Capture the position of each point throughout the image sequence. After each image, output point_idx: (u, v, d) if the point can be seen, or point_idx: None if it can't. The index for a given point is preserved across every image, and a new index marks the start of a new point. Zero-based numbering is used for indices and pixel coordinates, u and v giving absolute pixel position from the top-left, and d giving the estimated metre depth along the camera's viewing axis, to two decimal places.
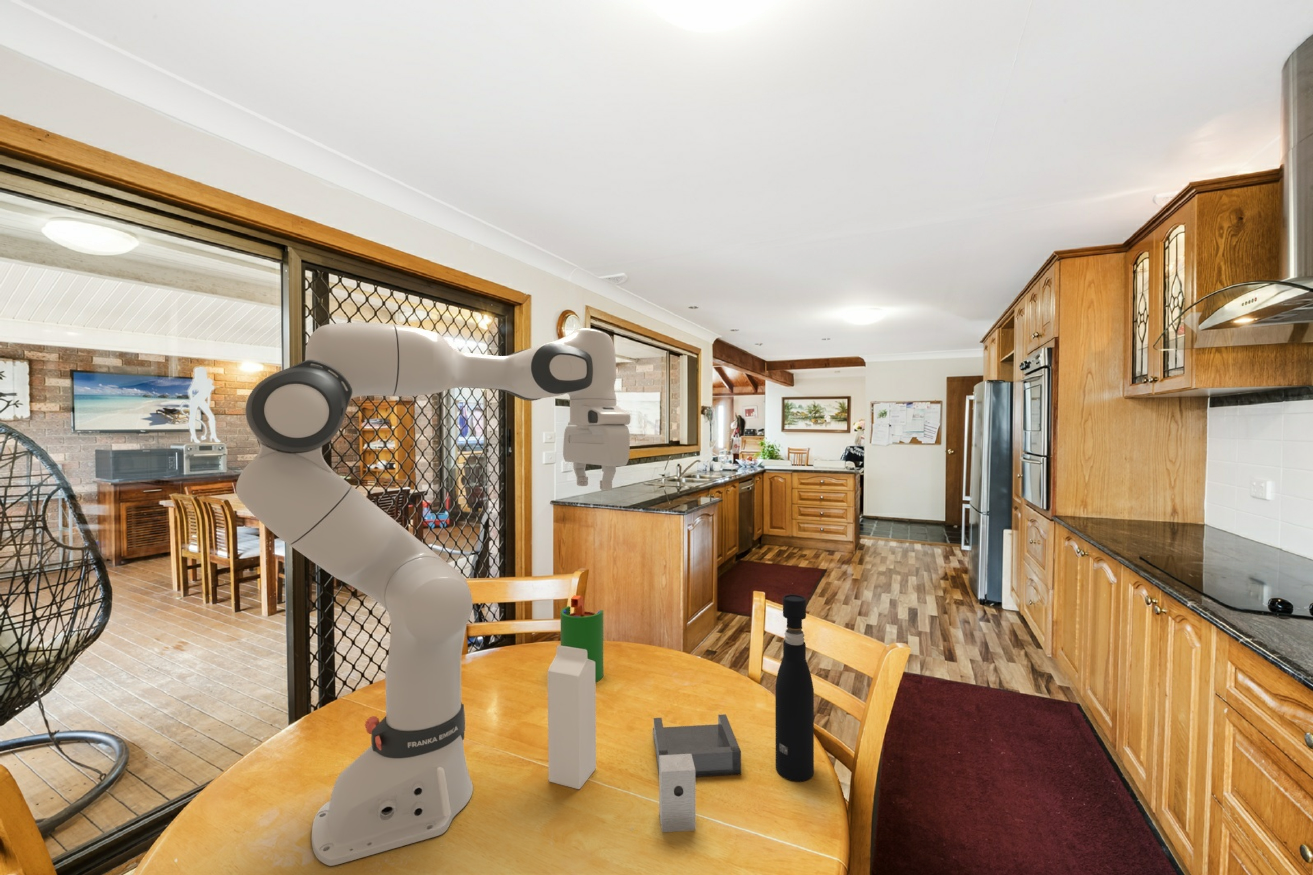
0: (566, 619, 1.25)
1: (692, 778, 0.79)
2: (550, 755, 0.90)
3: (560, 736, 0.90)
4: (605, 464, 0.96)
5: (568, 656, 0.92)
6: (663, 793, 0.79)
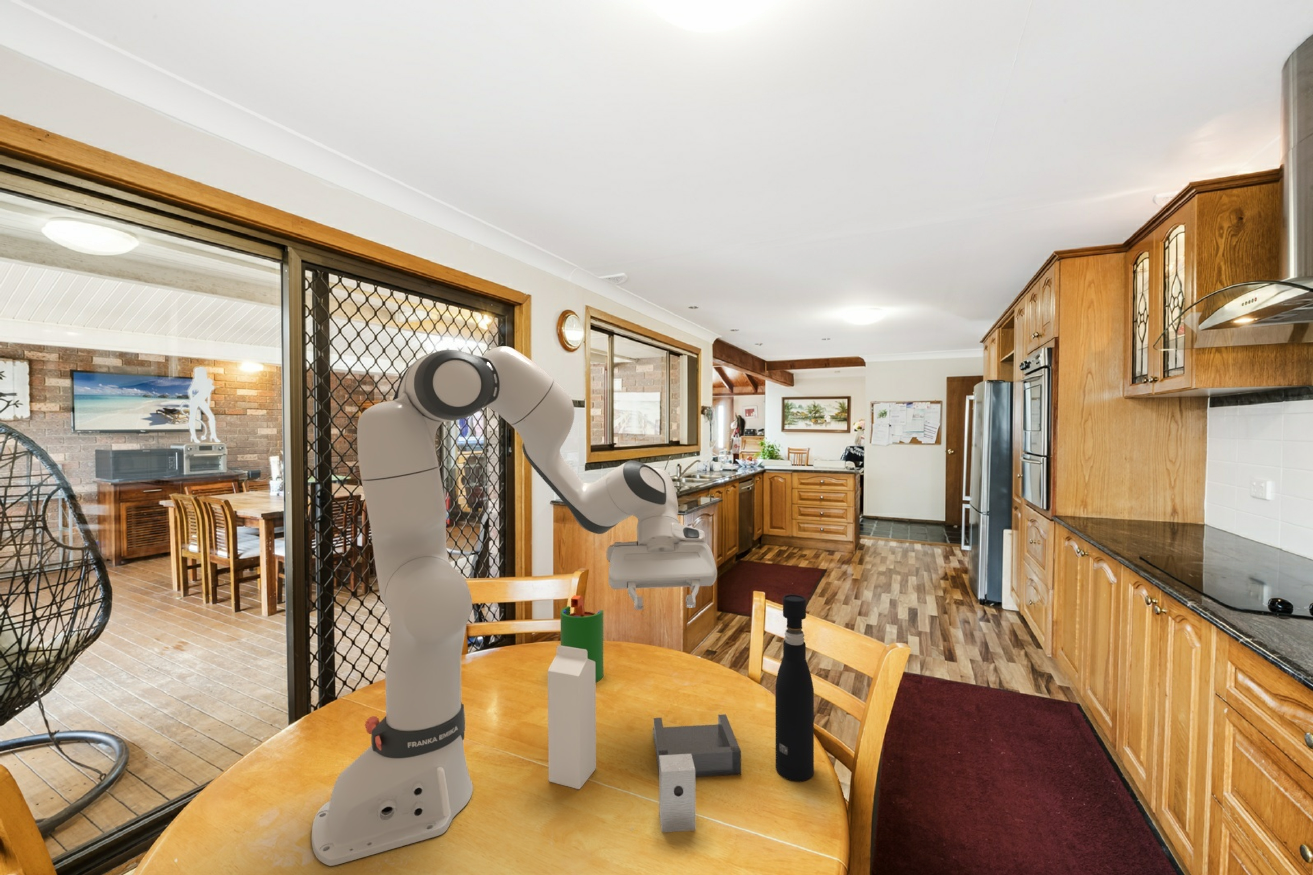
0: (566, 619, 1.25)
1: (692, 778, 0.79)
2: (550, 755, 0.90)
3: (560, 736, 0.90)
4: (705, 575, 0.99)
5: (568, 656, 0.92)
6: (663, 793, 0.79)
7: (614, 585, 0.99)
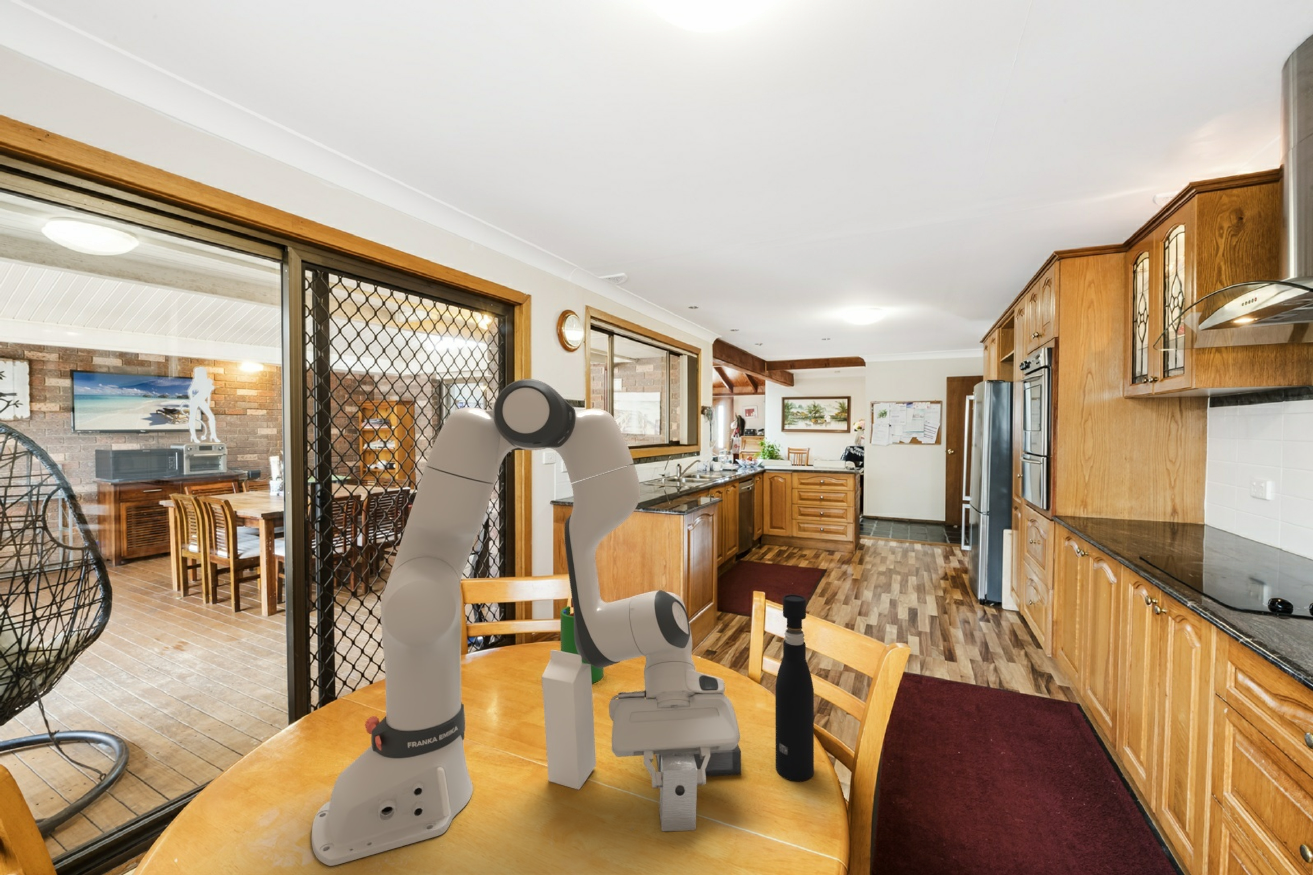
0: (566, 619, 1.25)
1: (694, 777, 0.79)
2: (549, 757, 0.90)
3: (557, 739, 0.89)
4: (726, 742, 0.84)
5: (562, 661, 0.90)
6: (664, 792, 0.79)
7: (618, 754, 0.83)
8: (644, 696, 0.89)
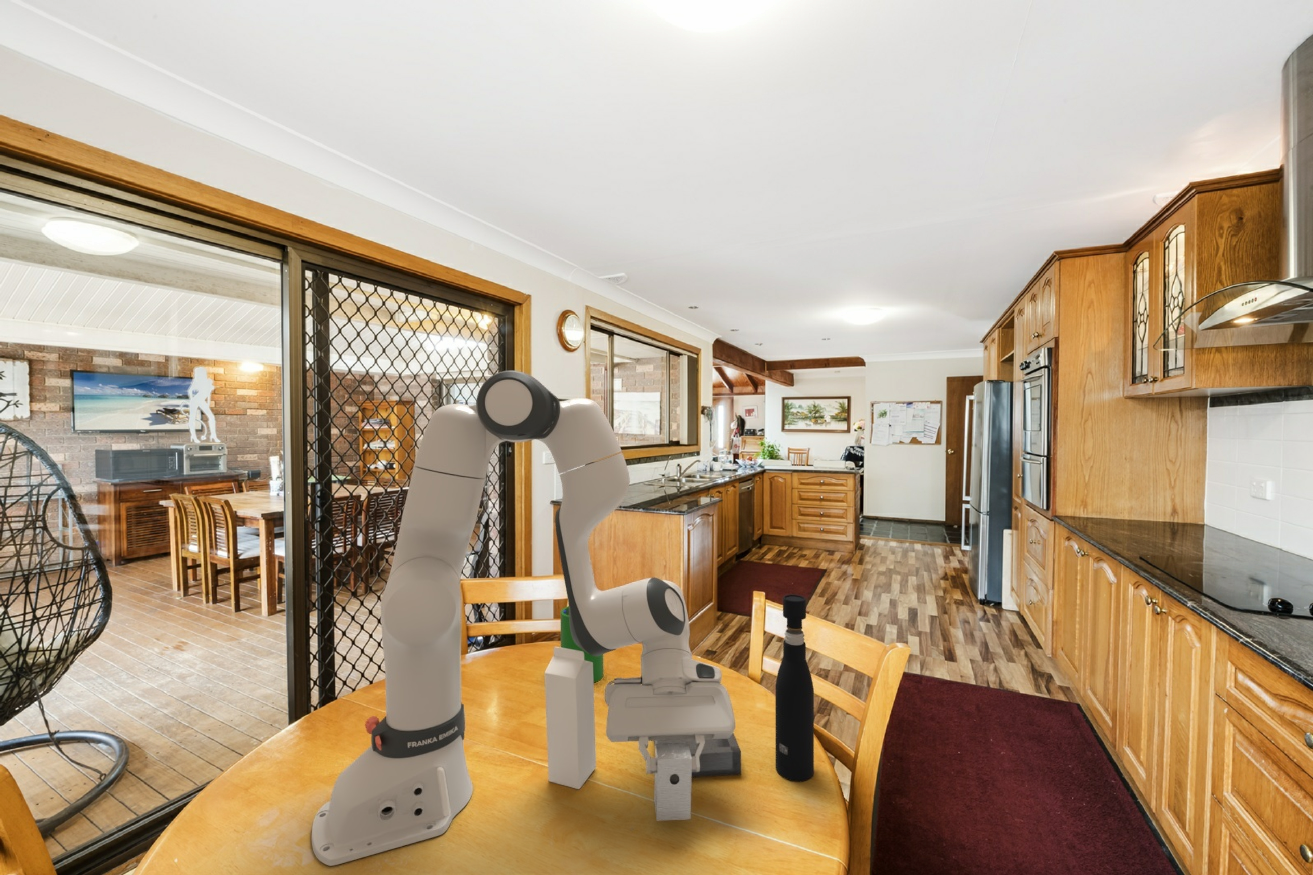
0: (566, 619, 1.25)
1: (689, 766, 0.79)
2: (549, 756, 0.90)
3: (558, 737, 0.89)
4: (721, 730, 0.83)
5: (565, 657, 0.91)
6: (659, 781, 0.79)
7: (613, 739, 0.83)
8: (640, 682, 0.89)
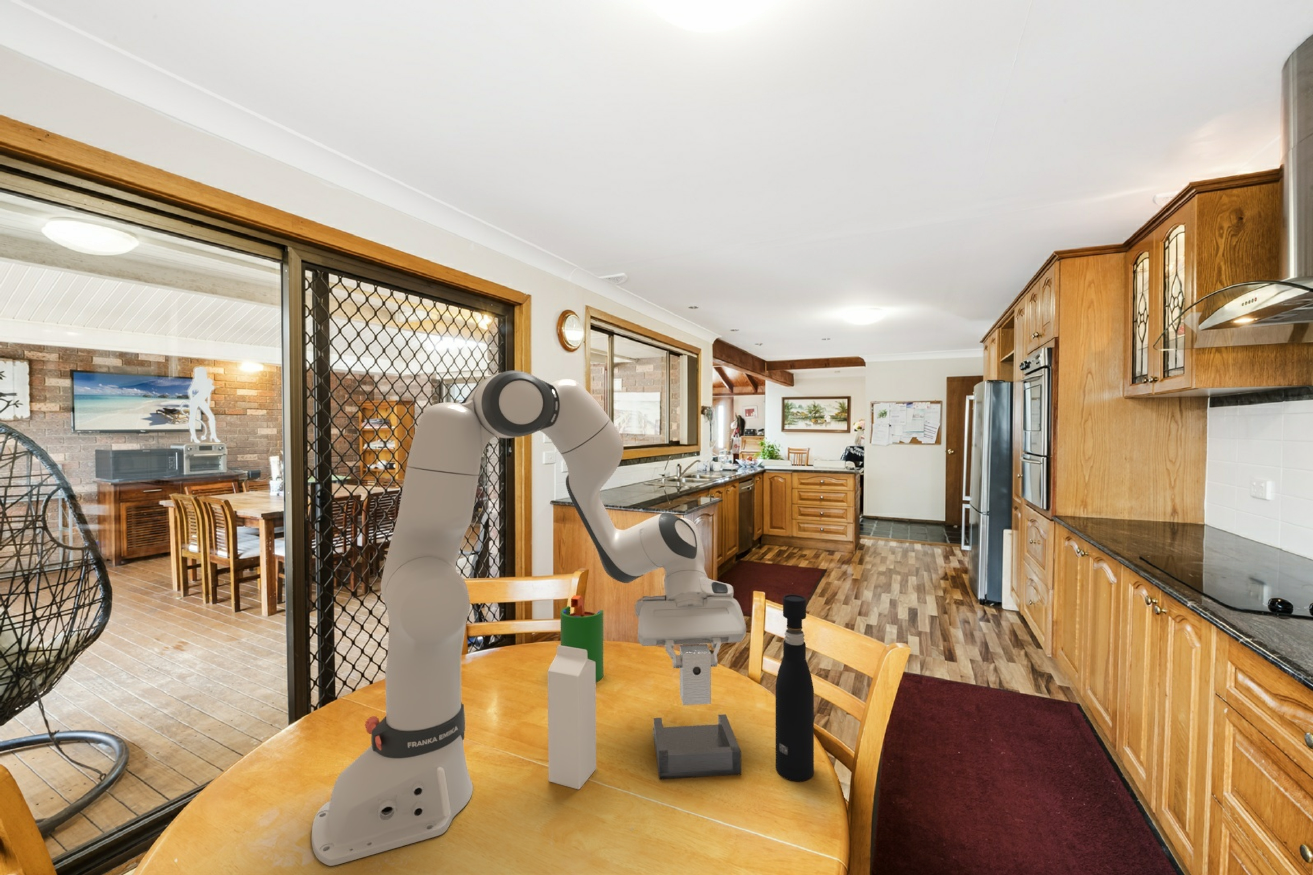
0: (566, 619, 1.25)
1: (708, 660, 0.95)
2: (550, 755, 0.90)
3: (560, 736, 0.90)
4: (734, 633, 0.99)
5: (568, 656, 0.92)
6: (684, 672, 0.94)
7: (644, 642, 0.99)
8: (664, 599, 1.04)
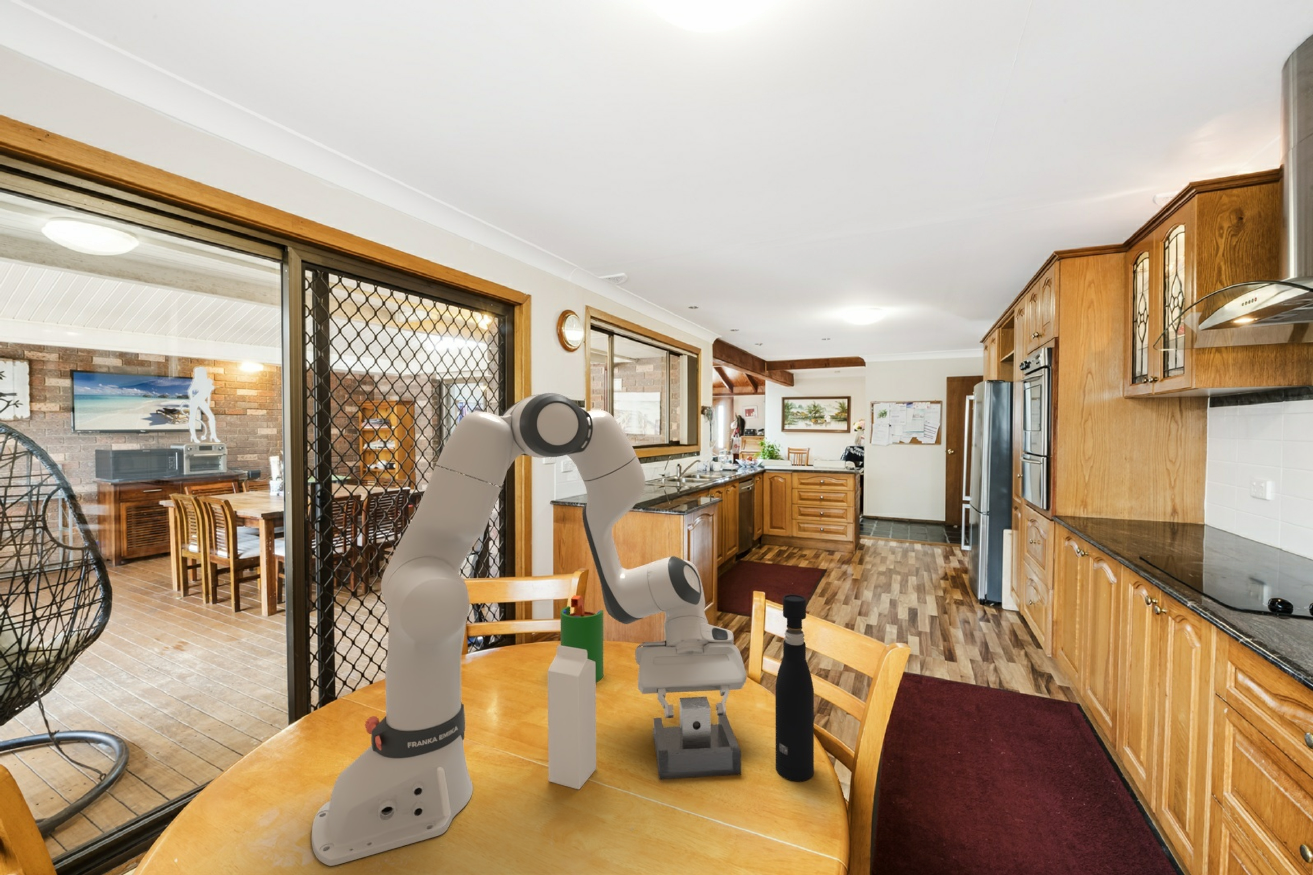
0: (566, 619, 1.25)
1: (708, 714, 0.95)
2: (550, 755, 0.90)
3: (560, 736, 0.90)
4: (734, 681, 0.99)
5: (568, 656, 0.92)
6: (684, 727, 0.95)
7: (644, 691, 0.99)
8: (665, 645, 1.05)
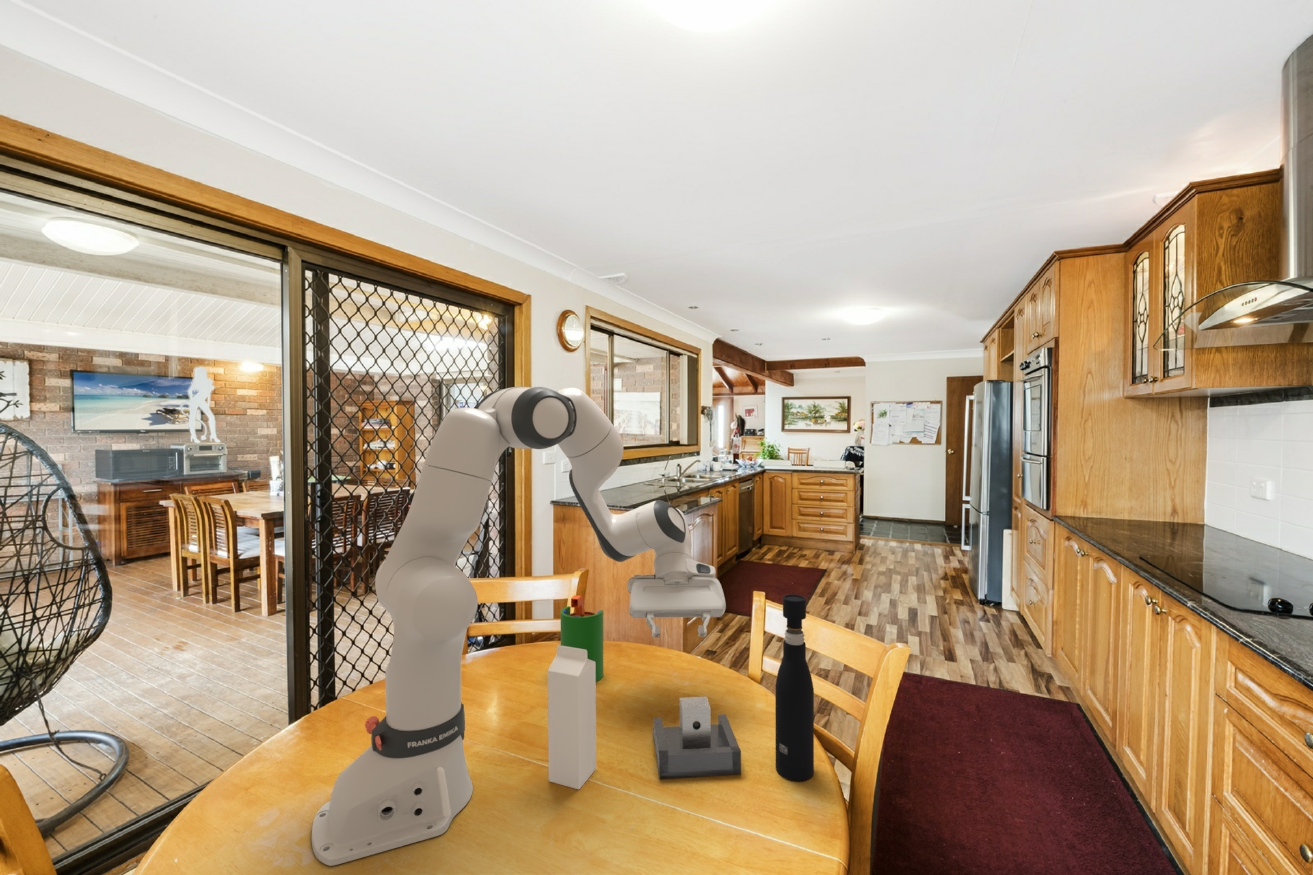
0: (566, 619, 1.25)
1: (708, 714, 0.95)
2: (550, 755, 0.90)
3: (560, 736, 0.90)
4: (715, 608, 1.11)
5: (568, 656, 0.92)
6: (684, 727, 0.95)
7: (634, 615, 1.11)
8: (654, 578, 1.17)
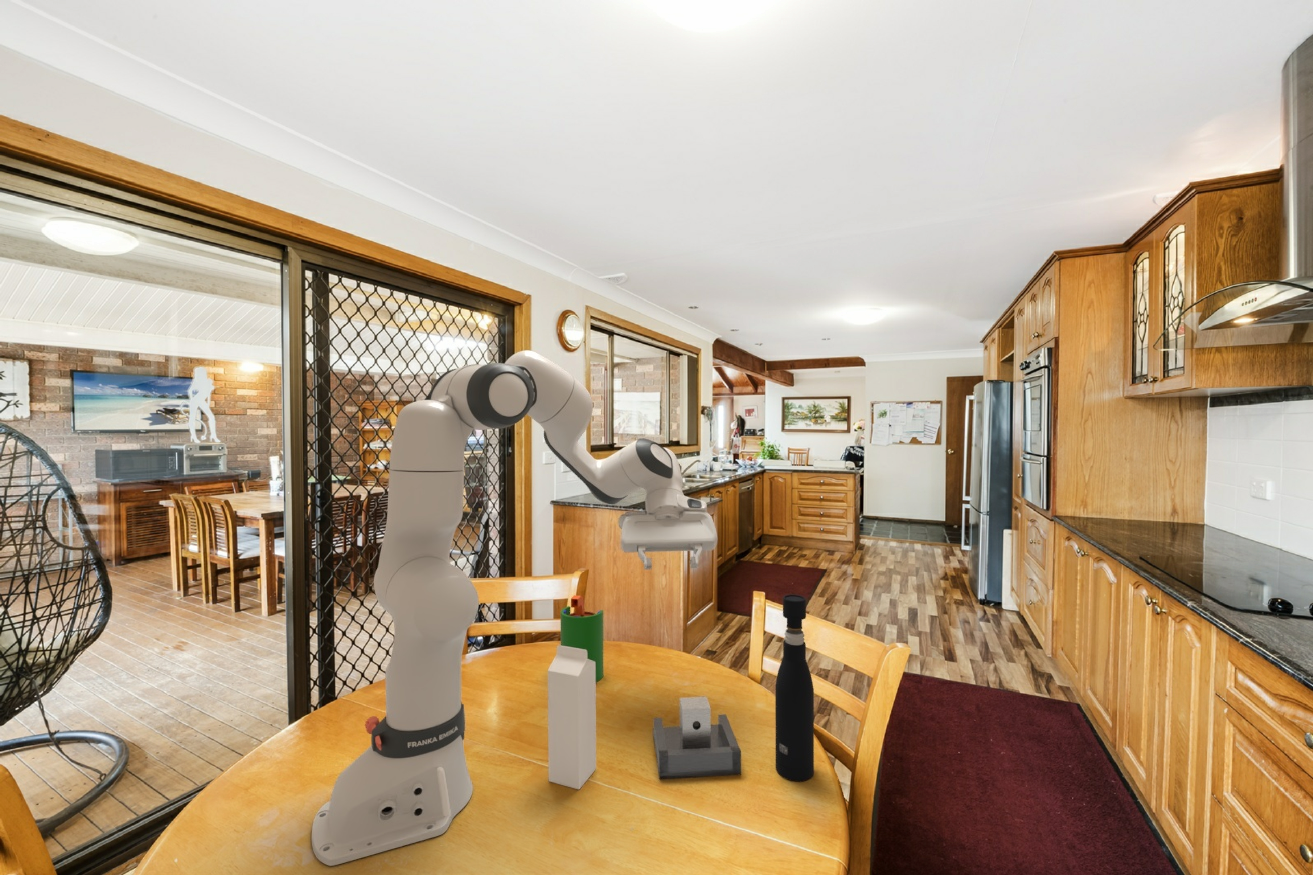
0: (566, 619, 1.25)
1: (708, 714, 0.95)
2: (550, 755, 0.90)
3: (560, 736, 0.90)
4: (706, 540, 1.11)
5: (568, 656, 0.92)
6: (684, 727, 0.95)
7: (626, 548, 1.11)
8: (645, 514, 1.16)
